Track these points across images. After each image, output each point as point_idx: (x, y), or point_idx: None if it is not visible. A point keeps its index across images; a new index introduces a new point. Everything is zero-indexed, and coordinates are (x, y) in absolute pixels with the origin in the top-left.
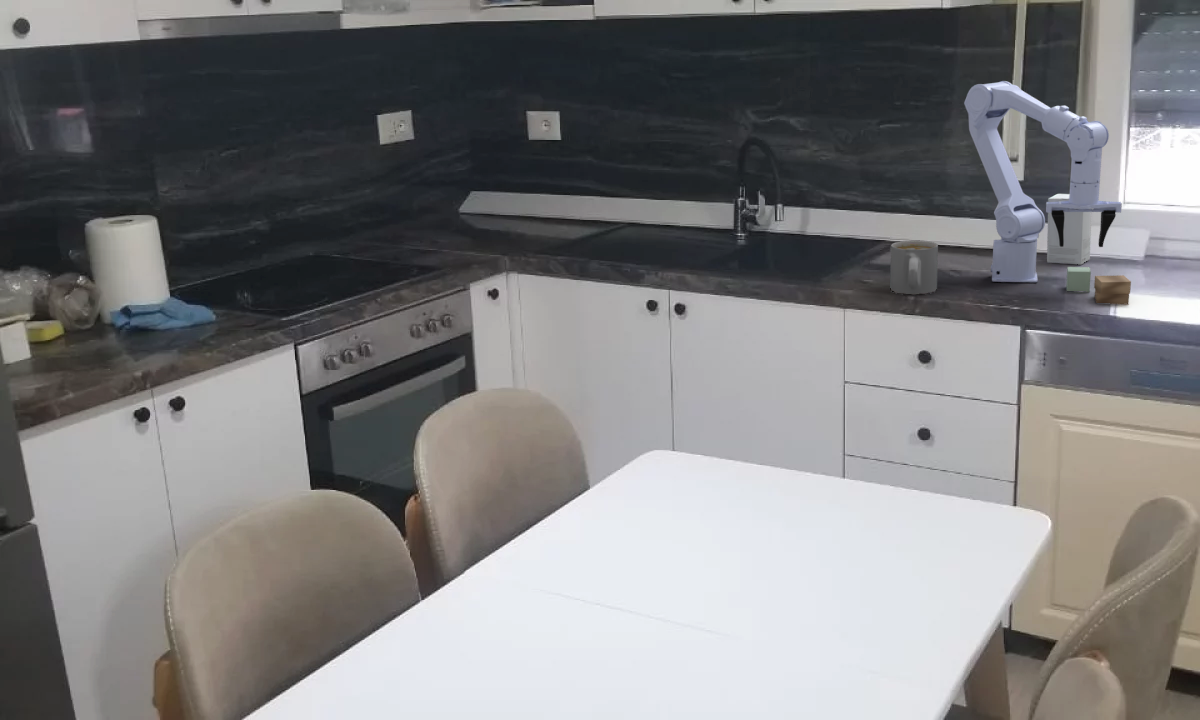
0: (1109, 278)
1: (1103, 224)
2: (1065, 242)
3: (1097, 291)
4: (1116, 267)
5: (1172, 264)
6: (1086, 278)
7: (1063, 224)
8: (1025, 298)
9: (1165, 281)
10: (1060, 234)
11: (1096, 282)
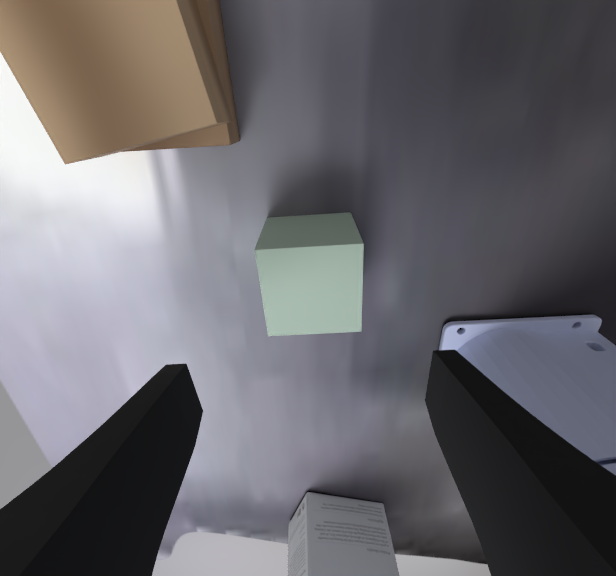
0: (114, 47)
1: (7, 571)
2: (351, 562)
3: (203, 14)
4: (225, 483)
5: None
6: (276, 236)
7: (604, 550)
8: (556, 37)
9: (69, 384)
10: (524, 420)
11: (207, 70)
